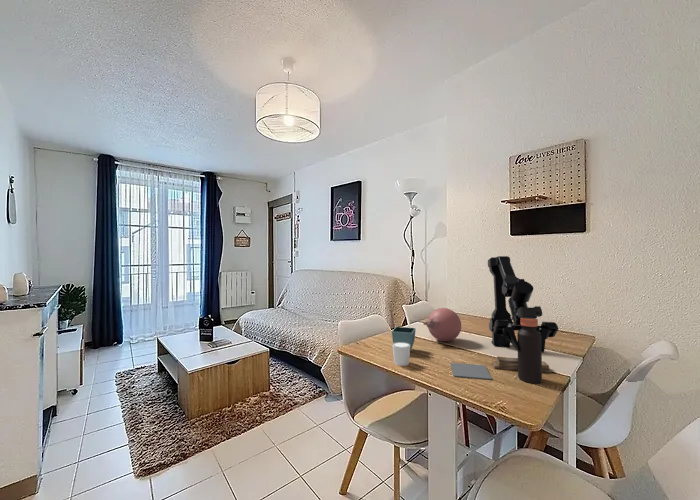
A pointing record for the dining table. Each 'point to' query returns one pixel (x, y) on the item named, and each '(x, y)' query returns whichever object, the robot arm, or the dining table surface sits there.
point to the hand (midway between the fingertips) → (530, 351)
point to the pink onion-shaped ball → (444, 324)
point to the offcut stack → (514, 364)
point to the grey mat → (470, 371)
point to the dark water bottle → (529, 351)
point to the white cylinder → (401, 353)
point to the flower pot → (404, 335)
